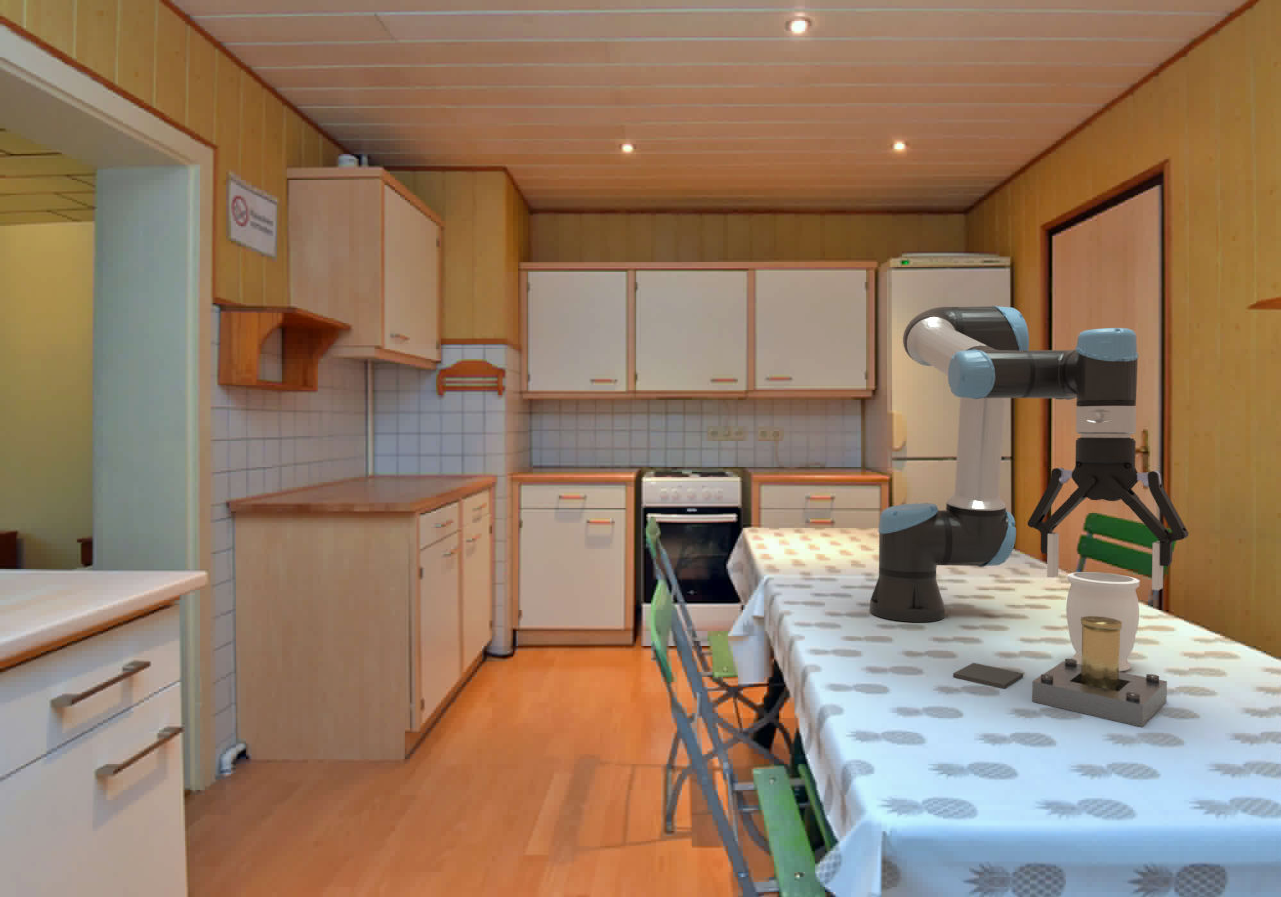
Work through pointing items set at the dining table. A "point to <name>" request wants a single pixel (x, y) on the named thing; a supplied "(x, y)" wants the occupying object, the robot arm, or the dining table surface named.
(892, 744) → the dining table surface
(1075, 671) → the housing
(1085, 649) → the brass-coloured knob
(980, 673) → the mat
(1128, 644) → the jar
